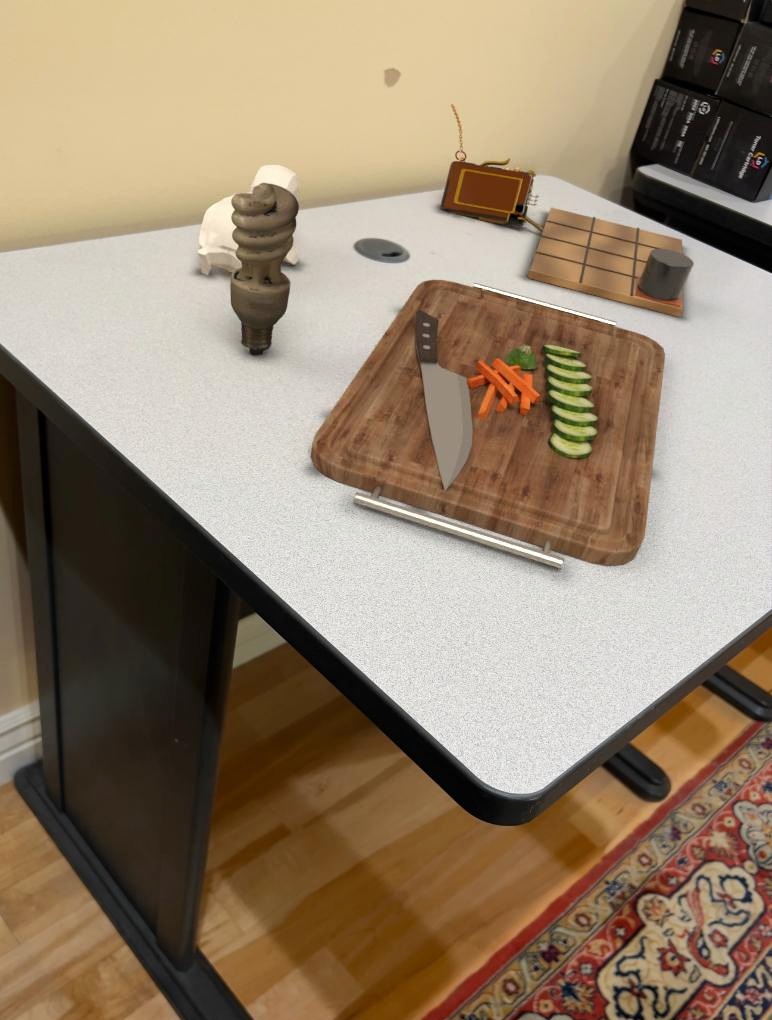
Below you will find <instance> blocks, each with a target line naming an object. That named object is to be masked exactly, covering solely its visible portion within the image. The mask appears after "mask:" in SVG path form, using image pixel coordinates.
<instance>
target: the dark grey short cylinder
mask: <svg viewBox="0 0 772 1020" xmlns="http://www.w3.org/2000/svg"><path fill="white" fill-rule="evenodd" d="M693 267H694V261H693V259H691V258H690V257H689V256H688V255H685V254H684V253H682V254H681V253H679V252H676V251H672V250H667V249H654V250H652V251H651V252H650V254H649V256H648V259H647V262H646V264H645V267H644V269H643V272H642V274H641V277H640V279H639V282H638V284H637V287H638V289H639V290H640V291H641V292H643V293H644V294H646V295H648V296H650V297H653V298H656V299H660V300H666V301H673V300H677V299H678V298H679V297H680V295H681V293H682V290H683V291H684V288H685V285H686V284H687V281H688V278H689V276H690V274H691V272H692V269H693Z"/></svg>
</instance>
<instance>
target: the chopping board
mask: <svg viewBox="0 0 772 1020" xmlns="http://www.w3.org/2000/svg"><path fill="white" fill-rule="evenodd" d="M665 359H666V352H665V350H664V347H662V346H661V344H660V343H659V342H657V341H656V340H654V339H652V338H650V337H649V336H648V335H644V334H641V333H638V332H636V331H632V330H628V329H625V328H622V327H617V321H615V320H612V319H608V318H605V317H602V316H601V317H600V316H597V315H593V314H589V313H587V312H583V311H579V310H575V309H572V308H568V307H564V306H560V305H558V304H553V303H550V302H546V301H542V300H539V299H535V298H532V297H528V296H525V295H521V294H517V293H513V292H511V291H506V290H503V289H500V288H495V287H492V286H488V285H485V284H481V283H477V282H474V283H473V285H472V286H470V285H467V284H463V283H460V282H456V281H452V280H451V281H450V280H446V279H428V280H423V281H421V282H420V283H419V284H418V285H417V286H416V287H415V289H414V290H413V292H412V293H411V294H410V295H409V297H408V299H407V300H406V302H405V303H404V305H403V306H402V307H401V309H400V310H399V312H398V314H397V315H396V316H395V318H394V319H393V320H392V322H391V323H390V325H389V326H388V328H387V329H386V331H385V332H384V334H383V335H382V336H381V338H380V340H379V341H378V343H377V344H376V345H375V347H374V348H373V350H372V351H371V353H370V354H369V355H368V357H367V359H366V360H365V361H364V363H363V364H362V366H361V367H360V369H359V370H358V372H357V373H356V375H355V376H354V377H353V379H352V380H351V382H350V383H349V384H348V386H347V388H346V389H345V391H344V392H343V393H342V395H341V396H340V398H339V399H338V401H337V402H336V403H335V405H334V406H333V408H332V410H331V411H330V412H329V414H328V415H327V416H326V418H325V420H324V421H323V423H321V425H320V427H319V428H318V430H317V431H316V433H315V434H314V438H313V440H312V444H311V451H310V459H311V461H312V464H313V466H314V468H315V469H316V470H318V471H319V473H321V474H322V475H323V476H325V477H327V478H329V479H330V480H334V481H336V482H337V483H341V484H344V485H347V486H350V487H352V488H356V489H359V490H362V491H366V492H369V493H371V495H368V494H365V493H361V492H358V491H357V492H356V493H354V497H353V503H355V504H358V505H362V506H364V507H367V508H370V509H374V510H377V511H380V512H382V513H386V514H390V515H393V516H395V517H398V518H401V519H404V520H408V521H411V522H414V523H417V524H420V525H424V526H426V527H430V528H433V529H436V530H439V531H442V532H445V533H449V534H450V535H451V534H452V535H454V536H458V537H461V538H464V539H467V540H470V541H473V542H476V543H479V544H483V545H485V546H489V547H492V548H494V549H498V550H501V551H504V552H508V553H511V554H514V555H517V556H520V557H522V558H526V559H529V560H533V561H535V562H539V563H541V564H544V565H548V566H551V567H555V568H558V569H561V568H562V567H563V565H564V563H565V558H564V557H562V556H559V555H555V554H552V553H551V551H553V552H557V553H560V554H564V555H566V556H570V557H573V558H576V559H578V560H582V561H584V562H589V563H593V564H596V565H597V564H598V565H602V566H607V567H608V566H620V565H621V566H622V565H623V566H624V565H625V564H627V563H629V562H631V561H634V559H635V558H636V555H638V552H639V550H640V548H641V546H642V544H643V542H644V540H645V537H646V528H647V518H648V511H649V502H650V494H651V493H650V492H651V484H652V476H653V467H654V458H655V457H654V456H655V449H656V440H657V431H658V430H657V429H658V421H659V415H660V414H659V412H660V405H661V404H660V403H661V396H662V395H661V394H662V385H663V377H664V370H665V369H664V368H665ZM380 496H381V497H383V498H388V499H391V500H395V501H397V502H401V503H404V504H406V505H409V506H412V507H416V508H419V509H422V510H426V511H429V512H432V513H435V514H438V515H441V516H444V517H448V518H451V519H453V520H457V521H460V522H464V523H466V524H469V525H472V526H475V527H479V528H482V529H485V530H488V531H492V532H494V533H497V534H501V535H503V536H507V537H510V538H513V539H516V540H520V541H523V542H525V543H528V544H532V545H535V546H539V547H541V548H542V550H540V549H537V548H533V547H531V546H527V545H524V544H521V543H518V542H515V541H511V540H509V539H505V538H503V537H499V536H496V535H493V534H489V533H486V532H484V531H480V530H477V529H474V528H471V527H467V526H465V525H462V524H458V523H455V522H452V521H450V520H446V519H443V518H440V517H437V516H433V515H431V514H428V513H424V512H421V511H417V510H415V509H411V508H408V507H406V506H403V505H398V504H396V503H393V502H390V501H386V500H384V499H381V498H379V497H380Z"/></svg>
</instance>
